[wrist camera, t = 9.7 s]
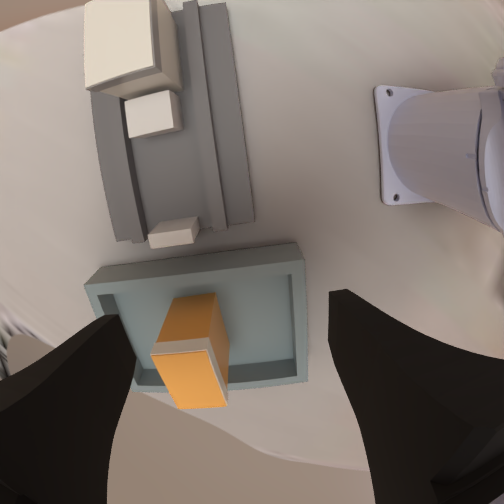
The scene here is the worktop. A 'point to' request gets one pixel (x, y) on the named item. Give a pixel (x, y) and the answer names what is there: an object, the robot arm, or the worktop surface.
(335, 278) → the worktop surface
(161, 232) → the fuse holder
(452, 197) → the robot arm
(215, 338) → the block
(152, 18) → the cream rectangular block
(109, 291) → the slate tray
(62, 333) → the worktop surface
